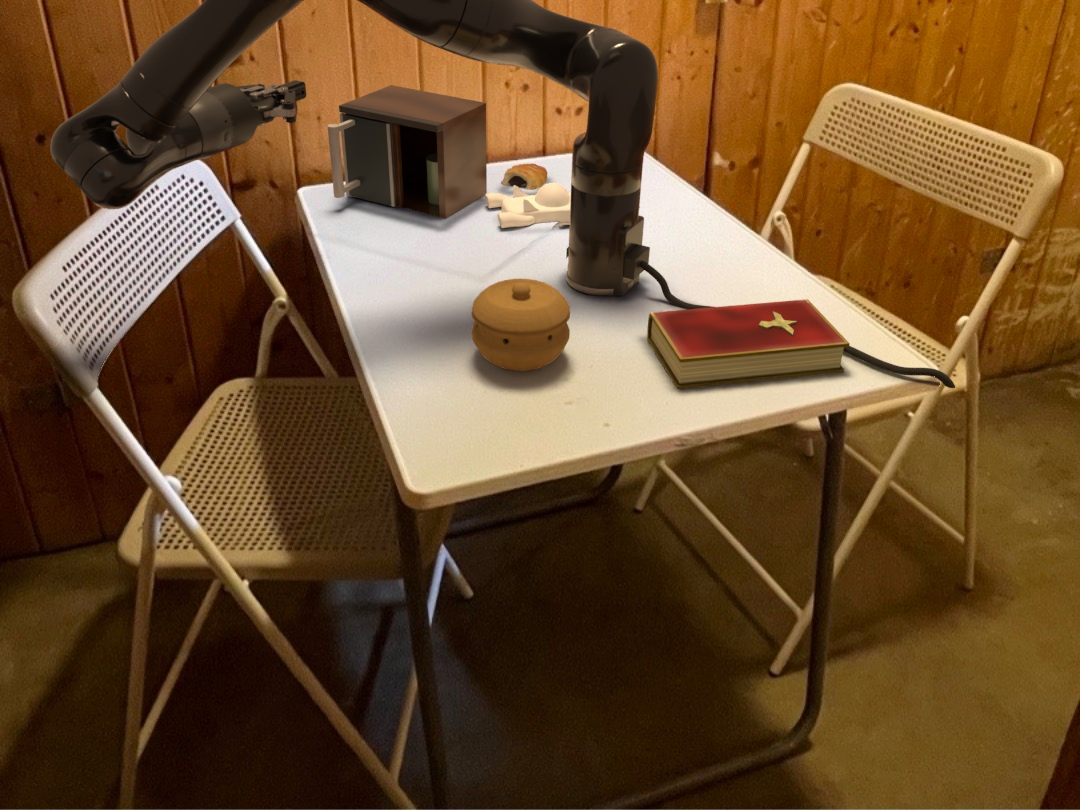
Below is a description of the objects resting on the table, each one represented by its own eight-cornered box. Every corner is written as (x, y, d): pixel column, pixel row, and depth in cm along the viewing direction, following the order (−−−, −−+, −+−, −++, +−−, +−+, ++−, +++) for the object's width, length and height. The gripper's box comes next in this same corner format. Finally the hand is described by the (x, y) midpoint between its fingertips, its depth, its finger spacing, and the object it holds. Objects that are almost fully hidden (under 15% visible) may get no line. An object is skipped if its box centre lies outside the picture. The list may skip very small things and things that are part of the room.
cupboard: (441, 229, 155) (437, 125, 146) (347, 205, 162) (338, 105, 153) (486, 201, 165) (486, 102, 156) (396, 180, 172) (391, 84, 163)
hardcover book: (646, 338, 127) (649, 309, 125) (801, 324, 131) (806, 295, 129) (677, 388, 117) (680, 357, 115) (843, 371, 121) (850, 341, 119)
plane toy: (625, 226, 157) (627, 190, 154) (500, 238, 152) (500, 202, 149) (603, 201, 165) (605, 167, 162) (484, 212, 161) (484, 177, 157)
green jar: (462, 198, 162) (461, 156, 159) (446, 207, 159) (444, 164, 155) (438, 192, 164) (436, 150, 160) (422, 201, 161) (420, 159, 157)
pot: (525, 325, 130) (526, 253, 124) (588, 361, 122) (592, 287, 117) (452, 354, 123) (450, 280, 117) (514, 394, 116) (515, 317, 110)
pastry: (520, 173, 176) (521, 152, 174) (556, 179, 174) (557, 158, 172) (498, 191, 168) (498, 169, 166) (535, 198, 166) (536, 175, 164)
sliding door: (372, 219, 154) (366, 134, 147) (324, 206, 158) (315, 123, 150) (396, 205, 158) (391, 123, 151) (348, 193, 162) (342, 112, 155)
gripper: (244, 100, 119) (337, 67, 132) (163, 83, 124) (260, 53, 137) (253, 162, 123) (343, 123, 136) (174, 143, 128) (267, 108, 141)
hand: (301, 88), depth 136 cm, fingers closed
